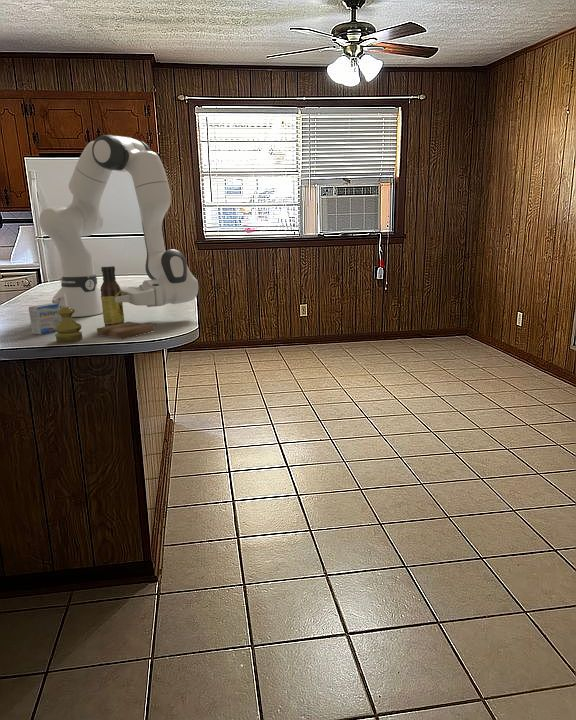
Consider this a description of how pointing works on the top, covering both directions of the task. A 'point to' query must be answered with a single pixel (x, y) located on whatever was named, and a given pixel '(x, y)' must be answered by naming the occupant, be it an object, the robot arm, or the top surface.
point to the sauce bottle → (111, 297)
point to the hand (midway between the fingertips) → (109, 297)
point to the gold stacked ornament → (67, 327)
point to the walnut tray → (125, 330)
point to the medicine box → (44, 318)
